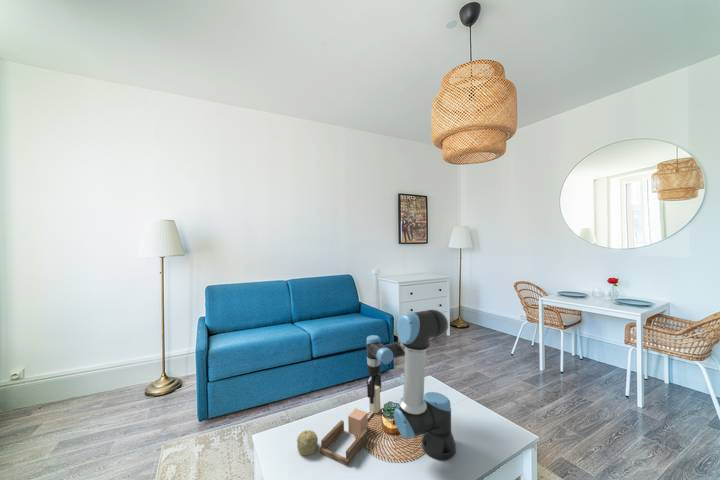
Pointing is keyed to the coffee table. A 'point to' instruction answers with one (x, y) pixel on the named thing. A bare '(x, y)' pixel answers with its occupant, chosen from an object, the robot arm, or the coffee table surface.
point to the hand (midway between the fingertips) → (374, 405)
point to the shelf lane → (350, 452)
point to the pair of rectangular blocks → (363, 415)
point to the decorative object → (307, 442)
